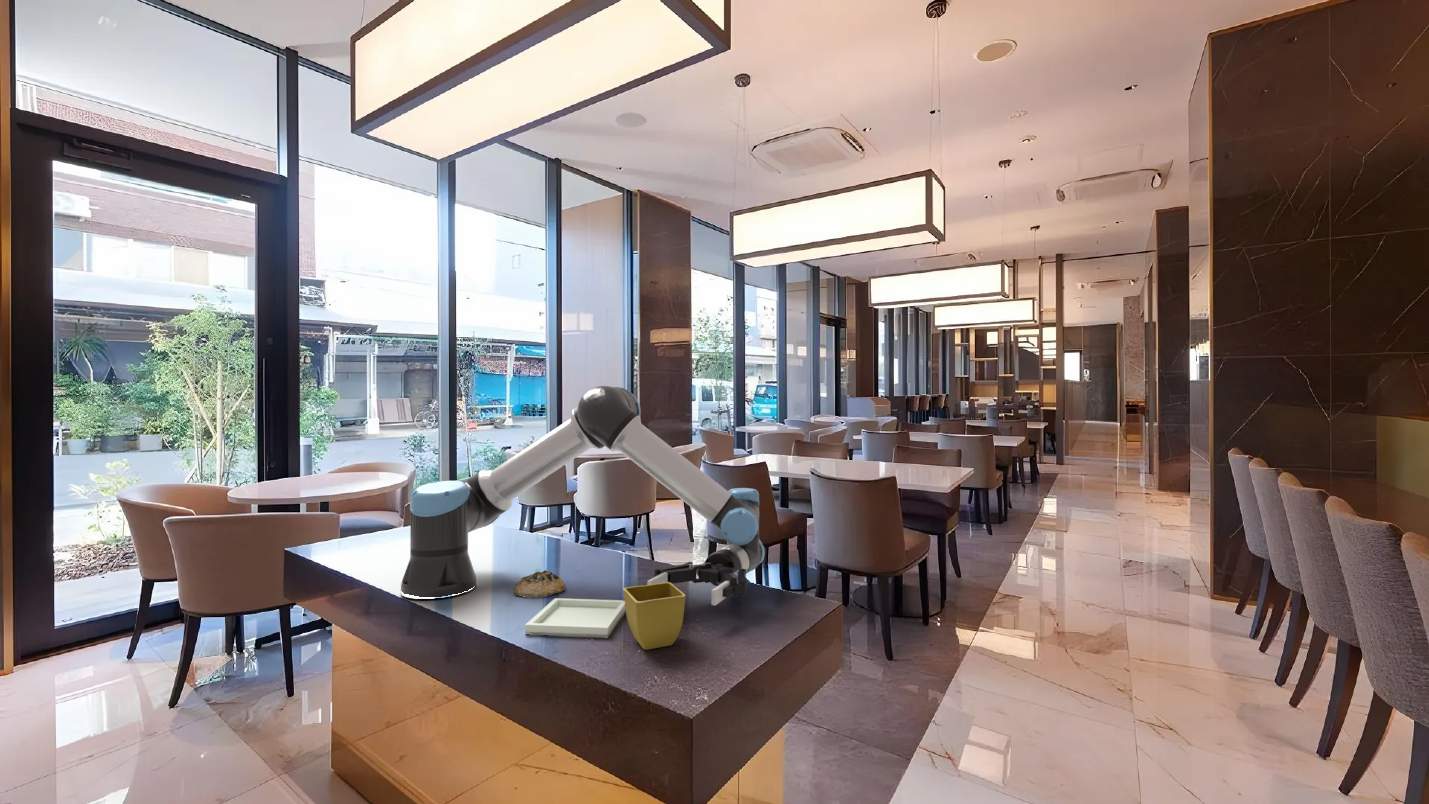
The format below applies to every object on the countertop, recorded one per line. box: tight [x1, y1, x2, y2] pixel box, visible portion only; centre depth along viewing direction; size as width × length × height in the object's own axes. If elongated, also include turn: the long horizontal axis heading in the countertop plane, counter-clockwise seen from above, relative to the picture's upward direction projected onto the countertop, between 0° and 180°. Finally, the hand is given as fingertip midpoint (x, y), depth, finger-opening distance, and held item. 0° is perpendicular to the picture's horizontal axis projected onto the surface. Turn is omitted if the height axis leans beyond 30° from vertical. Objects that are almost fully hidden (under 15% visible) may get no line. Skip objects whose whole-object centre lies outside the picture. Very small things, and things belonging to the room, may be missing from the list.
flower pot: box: [622, 582, 687, 650], centre depth 102 cm, size 9×9×9 cm
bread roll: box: [513, 569, 566, 598], centre depth 132 cm, size 11×11×5 cm
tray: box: [524, 597, 626, 639], centre depth 113 cm, size 15×15×2 cm
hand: (680, 592), depth 111 cm, fingers open, 13 cm apart
